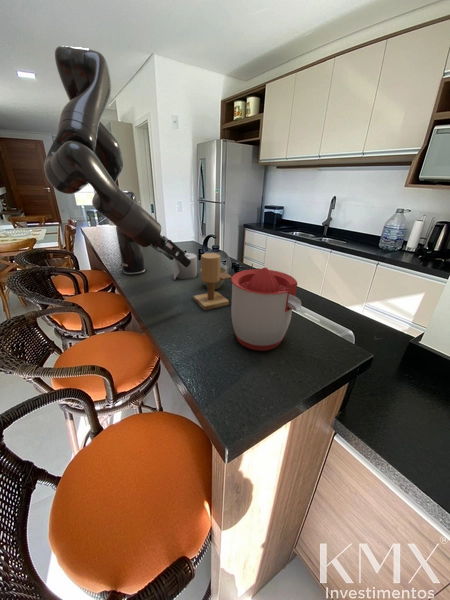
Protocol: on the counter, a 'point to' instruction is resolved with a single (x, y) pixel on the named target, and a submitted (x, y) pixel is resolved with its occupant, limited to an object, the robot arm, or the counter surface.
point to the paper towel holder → (211, 298)
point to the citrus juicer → (262, 307)
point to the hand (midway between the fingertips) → (180, 260)
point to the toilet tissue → (186, 268)
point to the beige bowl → (219, 283)
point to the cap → (212, 268)
